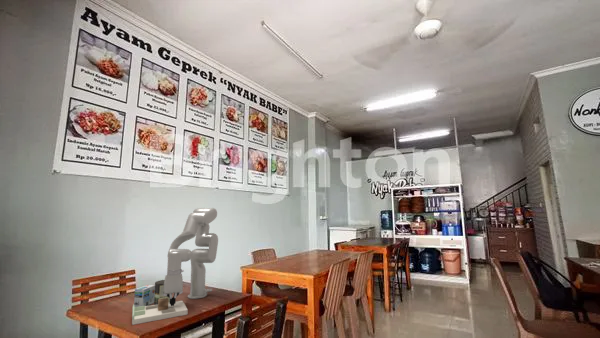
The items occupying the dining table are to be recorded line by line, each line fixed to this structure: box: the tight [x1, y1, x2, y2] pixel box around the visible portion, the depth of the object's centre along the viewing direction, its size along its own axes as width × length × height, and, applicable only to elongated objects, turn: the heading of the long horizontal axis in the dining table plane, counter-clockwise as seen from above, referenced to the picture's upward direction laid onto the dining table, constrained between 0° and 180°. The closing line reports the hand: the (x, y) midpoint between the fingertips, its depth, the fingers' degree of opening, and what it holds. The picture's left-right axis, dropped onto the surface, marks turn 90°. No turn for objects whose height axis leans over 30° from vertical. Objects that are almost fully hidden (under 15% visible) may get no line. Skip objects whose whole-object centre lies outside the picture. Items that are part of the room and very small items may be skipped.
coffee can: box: [153, 279, 170, 305], centre depth 177 cm, size 10×10×14 cm
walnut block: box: [158, 298, 169, 311], centre depth 162 cm, size 5×5×5 cm
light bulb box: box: [133, 284, 155, 307], centre depth 178 cm, size 11×7×11 cm, turn 169°
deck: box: [131, 300, 189, 326], centre depth 161 cm, size 27×20×4 cm
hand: (172, 305), depth 165 cm, fingers closed
